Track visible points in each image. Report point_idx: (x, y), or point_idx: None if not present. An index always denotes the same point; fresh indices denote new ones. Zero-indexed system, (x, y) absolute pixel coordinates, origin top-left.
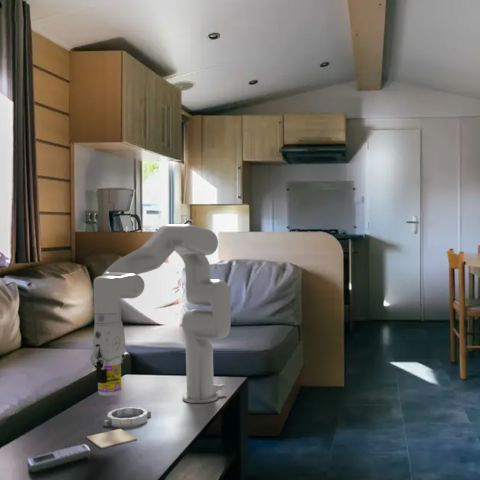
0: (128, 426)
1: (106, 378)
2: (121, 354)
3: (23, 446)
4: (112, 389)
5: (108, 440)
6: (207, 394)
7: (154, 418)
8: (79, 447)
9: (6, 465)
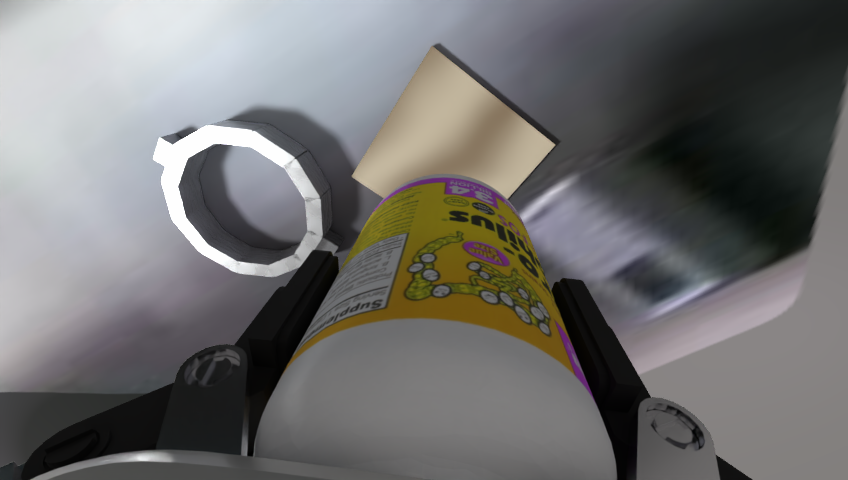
0: (314, 162)
1: (582, 300)
2: (234, 474)
3: None
4: (514, 212)
5: (481, 155)
6: None
7: (181, 108)
8: (550, 225)
9: (712, 340)
